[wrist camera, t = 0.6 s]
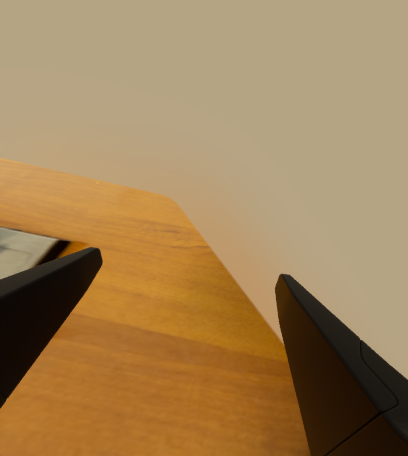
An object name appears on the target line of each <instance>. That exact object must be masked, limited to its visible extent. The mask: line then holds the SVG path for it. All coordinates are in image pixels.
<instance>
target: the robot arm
mask: <svg viewBox="0 0 408 456" xmlns="http://www.w3.org/2000/svg"><path fill="white" fill-rule="evenodd" d="M102 262H103V261H102V256H101V252H100V249H99V248H94V247H89V248H86V249H84V250H81V251H78V252H75V253H73V254H70V255H67V256H64V257H61V258H59V259H56V260H53V261H50V262H48V263H45V264H42V265H39V266H36V267H34V268H31V269H28V270H25V271H23V272H20V273H17V274H14V275H11V276H9V277H6V278H3V279H0V408H1V407H2V406H3V404H4V403H5V402H6V400H7V398H8V397H9V396H10V395H11V393H12V392H13V391H14V389H15V388H16V386H17V385H18V384H19V382H20V381H21V380H22V378H23V377H24V376H25V374H26V373H27V372H28V370H29V369H30V367H31V366H32V365H33V363H34V362H35V361H36V359H37V358H38V357H39V355H40V354H41V352H42V351H43V350H44V348H45V347H46V346H47V344H48V343H49V342H50V340H51V339H52V338H53V336H54V335H55V333H56V332H57V331H58V329H59V328H60V327H61V325H62V324H63V323H64V321H65V320H66V318H67V317H68V316H69V314H70V313H71V312H72V310H73V309H74V308H75V306H76V305H77V304H78V302H79V301H80V299H81V298H82V297H83V295H84V294H85V292H86V291H87V289H88V288H89V286H90V284H91V283H92V281H93V279H94V278H95V276H96V274H97V273H98V271H99V269H100V268H101V266H102ZM275 294H276V302H277V310H278V318H279V324H280V328H281V333H282V337H283V341H284V345H285V349H286V354H287V358H288V362H289V366H290V370H291V374H292V379H293V383H294V387H295V391H296V395H297V399H298V404H299V408H300V412H301V416H302V420H303V424H304V428H305V433H306V437H307V441H308V445H309V449H310V453H311V456H408V380H407V379H406V378H405V377H404V376H403V375H401V374H400V373H399V372H398V371H397V370H395V369H394V368H393V367H392V366H391V365H389V364H388V363H387V362H386V361H385V360H384V359H383V358H381V357H380V356H379V355H378V354H377V353H376V352H375V351H374V350H372V349H371V348H370V347H369V346H368V345H367V344H366V343H365V342H363V341H362V340H360V338H359V337H358V336H357V335H356V334H355V333H353V332H352V331H351V330H350V329H349V328H348V327H347V326H346V325H345V324H344V323H342V322H341V321H340V320H339V319H338V318H337V317H336V316H335V315H334V314H332V313H331V312H330V311H329V310H328V309H327V308H326V307H325V306H324V305H322V304H321V303H320V302H319V301H318V300H317V299H316V298H315V297H314V296H312V295H311V294H310V293H309V292H308V291H307V290H306V289H305V288H304V287H303V286H301V285H300V284H299V283H298V282H297V281H296V280H294V278H293V277H291V276H290V275H287V274H281V275H279V278H278V281H277V284H276V287H275Z"/></svg>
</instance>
